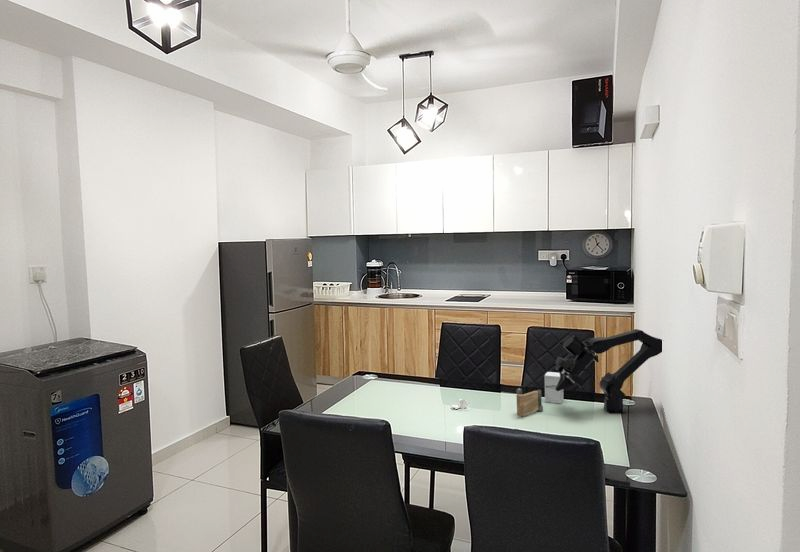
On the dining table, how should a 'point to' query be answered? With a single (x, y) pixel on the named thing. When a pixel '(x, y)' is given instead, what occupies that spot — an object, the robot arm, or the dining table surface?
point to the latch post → (519, 391)
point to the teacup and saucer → (461, 404)
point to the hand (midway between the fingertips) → (556, 390)
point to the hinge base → (540, 408)
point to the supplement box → (552, 388)
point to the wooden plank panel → (528, 402)
